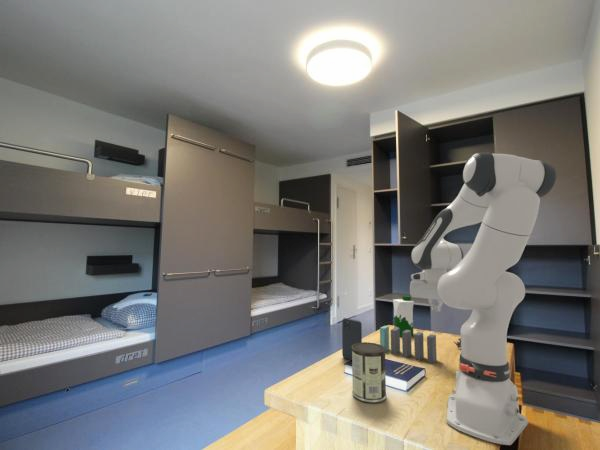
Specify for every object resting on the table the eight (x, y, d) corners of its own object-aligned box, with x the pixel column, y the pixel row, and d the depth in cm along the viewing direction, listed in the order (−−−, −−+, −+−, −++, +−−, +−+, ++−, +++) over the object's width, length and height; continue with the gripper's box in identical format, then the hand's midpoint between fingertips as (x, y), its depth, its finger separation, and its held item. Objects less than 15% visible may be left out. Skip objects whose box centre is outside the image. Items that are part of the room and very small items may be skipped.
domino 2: (400, 351, 128) (399, 328, 129) (395, 354, 125) (395, 330, 125) (395, 350, 130) (395, 327, 130) (391, 353, 126) (390, 329, 127)
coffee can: (369, 383, 98) (369, 340, 99) (393, 397, 89) (392, 349, 90) (345, 391, 93) (344, 344, 94) (367, 406, 84) (367, 355, 85)
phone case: (341, 357, 121) (341, 318, 122) (343, 356, 122) (343, 317, 123) (360, 363, 114) (359, 321, 116) (362, 362, 116) (362, 321, 117)
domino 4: (423, 357, 122) (423, 332, 123) (419, 360, 118) (419, 335, 119) (418, 356, 123) (418, 331, 124) (414, 359, 119) (414, 334, 120)
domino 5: (436, 360, 119) (435, 335, 120) (432, 364, 115) (432, 337, 116) (431, 359, 120) (430, 334, 121) (427, 362, 116) (426, 336, 117)
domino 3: (411, 354, 125) (411, 330, 126) (407, 357, 121) (406, 333, 122) (406, 353, 126) (406, 329, 127) (402, 356, 123) (402, 332, 123)
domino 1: (380, 351, 129) (379, 327, 130) (384, 348, 133) (384, 325, 134) (384, 352, 128) (384, 328, 128) (389, 349, 132) (388, 326, 132)
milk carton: (416, 337, 149) (415, 297, 151) (400, 338, 148) (399, 298, 149) (407, 332, 158) (406, 294, 160) (391, 333, 156) (390, 295, 158)
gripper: (465, 276, 113) (467, 313, 112) (414, 274, 128) (416, 307, 127) (458, 277, 109) (461, 315, 108) (407, 275, 124) (408, 308, 123)
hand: (436, 311), depth 117 cm, fingers closed
